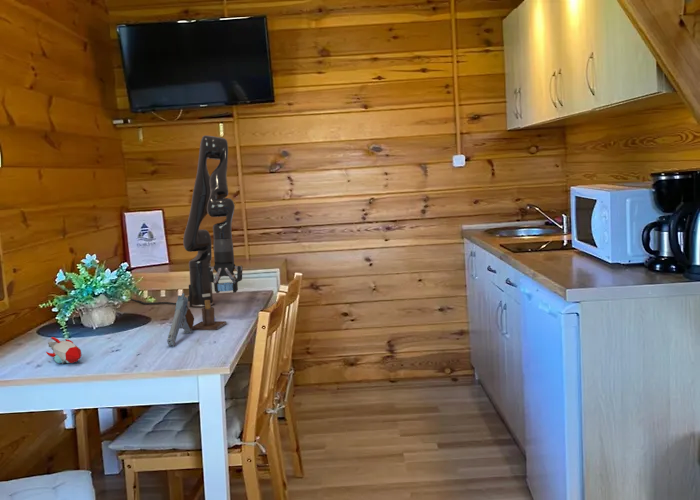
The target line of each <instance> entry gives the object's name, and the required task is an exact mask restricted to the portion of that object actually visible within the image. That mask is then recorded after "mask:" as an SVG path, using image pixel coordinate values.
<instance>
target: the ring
mask: <svg viewBox="0 0 700 500" xmlns="http://www.w3.org/2000/svg"><path fill="white" fill-rule="evenodd" d="M218 283H219V284H217V287H218V291H220V292H233V282H232V281H230V282H218Z"/></svg>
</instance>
